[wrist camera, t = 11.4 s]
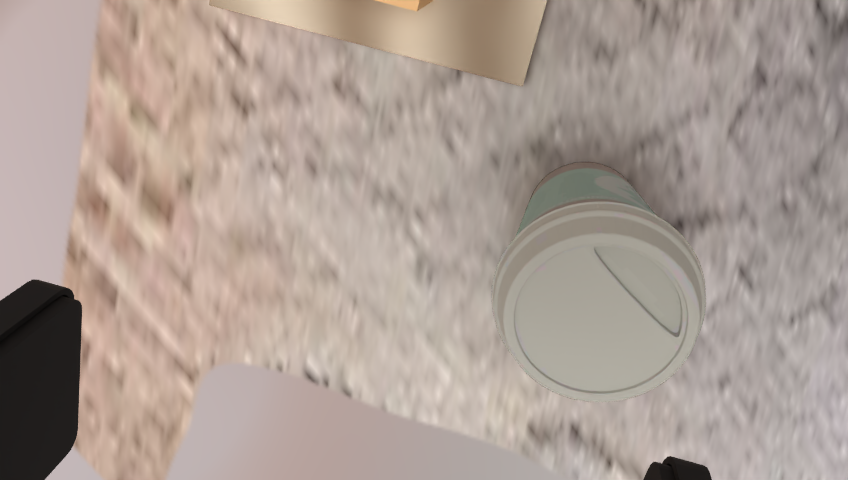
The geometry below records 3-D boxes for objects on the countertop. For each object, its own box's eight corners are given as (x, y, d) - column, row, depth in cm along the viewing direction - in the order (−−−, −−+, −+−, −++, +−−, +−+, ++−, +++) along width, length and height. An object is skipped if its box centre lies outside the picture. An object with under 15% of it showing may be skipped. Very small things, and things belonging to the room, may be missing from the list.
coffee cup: (672, 274, 40) (723, 404, 29) (516, 293, 42) (508, 423, 31) (657, 122, 37) (707, 203, 26) (489, 150, 39) (470, 237, 28)
